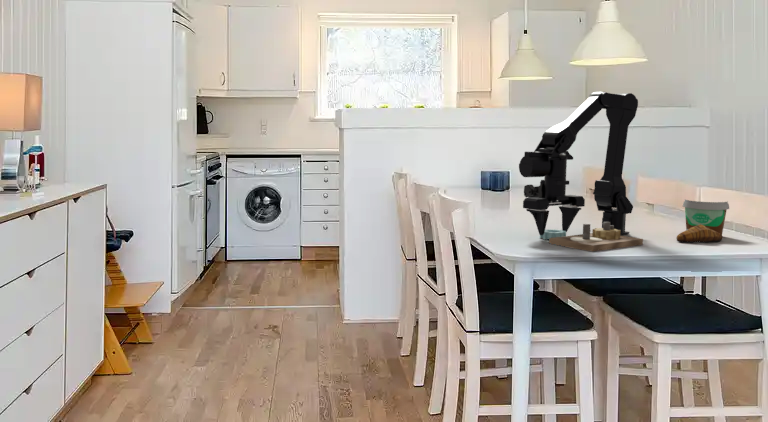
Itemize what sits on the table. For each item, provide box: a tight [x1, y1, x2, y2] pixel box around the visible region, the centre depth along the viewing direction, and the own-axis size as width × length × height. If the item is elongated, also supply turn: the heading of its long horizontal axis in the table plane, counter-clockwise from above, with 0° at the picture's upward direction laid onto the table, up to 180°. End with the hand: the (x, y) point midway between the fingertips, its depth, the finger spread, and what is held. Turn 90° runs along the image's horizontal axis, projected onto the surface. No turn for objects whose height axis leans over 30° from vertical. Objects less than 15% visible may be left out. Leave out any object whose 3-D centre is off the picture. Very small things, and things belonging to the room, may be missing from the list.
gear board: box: [548, 222, 644, 252], centre depth 201 cm, size 20×14×6 cm
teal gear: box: [539, 228, 567, 240], centre depth 210 cm, size 7×7×2 cm
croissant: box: [676, 224, 723, 243], centre depth 207 cm, size 14×7×5 cm, turn 104°
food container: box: [682, 199, 730, 236], centre depth 217 cm, size 12×6×10 cm, turn 68°
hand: (553, 233), depth 210 cm, fingers open, 9 cm apart
